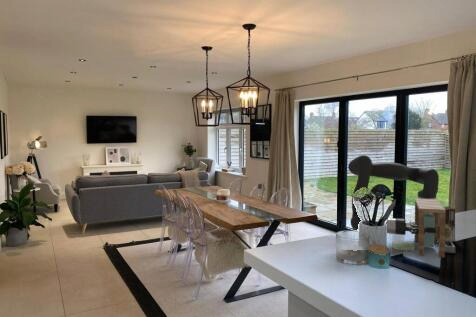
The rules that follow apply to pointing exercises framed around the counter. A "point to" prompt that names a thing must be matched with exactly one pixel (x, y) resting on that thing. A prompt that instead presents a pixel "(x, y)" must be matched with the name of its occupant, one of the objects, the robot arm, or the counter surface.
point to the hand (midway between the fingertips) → (434, 229)
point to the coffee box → (448, 223)
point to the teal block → (429, 237)
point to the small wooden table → (436, 208)
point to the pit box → (449, 247)
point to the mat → (403, 245)
